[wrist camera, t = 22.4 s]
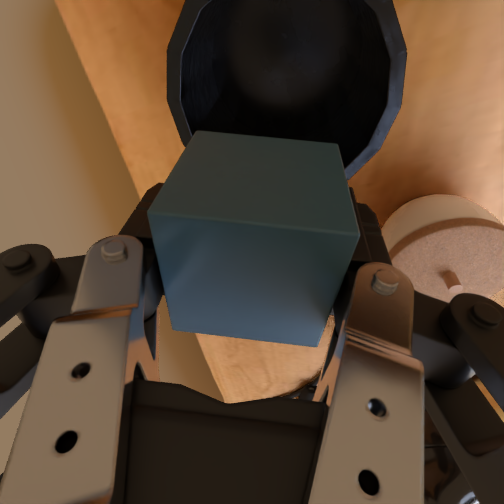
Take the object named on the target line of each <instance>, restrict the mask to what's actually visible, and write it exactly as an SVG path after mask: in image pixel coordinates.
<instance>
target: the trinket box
mask: <svg viewBox="0 0 504 504" xmlns="http://www.w3.org/2000/svg"><path fill="white" fill-rule="evenodd" d="M381 232H382V236H383V238H384V241H385V244H386V247H387V250H388V253H389V256H390V259H391V262H392V265H393V266H394V267H396V268H397V269H399V270H401V271H402V272H403V273H405V274H406V275H407V276H408V278H409V279H410V280H411V282H412V284H413V287H414V290H416V291H418V292H420V293H422V294H425V295H428V296H431V297H433V298H436V299H439V300H442V301H445V302H448V303H449V302H450V301H451V300H452V298H453V297H454V296H456V295H458V294H461V293H473V294H478V295H481V296H484V297H486V298H489V297H491V296H493V295H494V294H496V293H497V292H499V291H500V290H501V289H503V288H504V226H503V224H502V223H501V222H500V221H499V220H498V219H497V218H496V217H495V216H494V215H493V214H492V213H490V212H489V211H488V210H487V209H485V208H484V207H482V206H481V205H479V204H478V203H476V202H474V201H472V200H469V199H467V198H464V197H460V196H456V195H448V194H434V195H428V196H424V197H419V198H416V199H413V200H411V201H409V202H407V203H405V204H404V205H402V206H401V207H400V208H398V209H397V210H396V211H395V212H394V213H393V214H392V215H391V216H390V217H389V218H388V219H387V221H386V222H385V224H384V225H383V227H382V229H381Z"/></svg>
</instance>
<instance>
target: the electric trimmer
mask: <svg viewBox="0 0 504 504" xmlns="http://www.w3.org/2000/svg"><path fill="white" fill-rule="evenodd" d="M316 389H317V386H312V385H305V386H304V388H303V390H302V391H301V394H300V395H299V399H301V400H309V401H312V400H313V398H314V395H315V392H316Z"/></svg>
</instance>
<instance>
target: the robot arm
mask: <svg viewBox="0 0 504 504" xmlns="http://www.w3.org/2000/svg"><path fill="white" fill-rule="evenodd" d="M163 184H164V183H158V184H156V185H155V186H153V187H152V188H150V189H149V190H147V192H146V193H145V195H144V196H143V198H142V199H141V202H139V204H138V205H137V207H136V210H134V211H133V213H132V214H131V216H130V218H129V219H128V221H127V222H126V223H125V225H124V226H123V228H122V229H121V231H120V232H119V234H118V235H114V236H109V237H106V238H104V239H102V240H99V241H98V242H96V243H95V244H93V245H92V246H91V247H90V248H89V250H88V251H87V254H86V255H82V256H74V257H66V258H58V259H55V258H54V256H53V255H52V253H51V251H50V250H49V249H48V248H47V247H45V246H43V245H39V244H25V245H20V246H16V247H13V248H11V249H8V250H6V251H4V252H2V253H0V327H1V326H2V325H4V324H5V323H6V322H7V321H9V320H10V319H11V318H12V317H13V316H15V315H17V316H18V318H19V319H20V320H21V321H22V323H21V324H20V325H19V326H18V327H16V328H15V329H14V330H13V331H12V332H11V333H9V334H8V335H7V336H6V337H5V338H4V339H3V340H1V341H0V419H1V418H2V417H3V416H4V415H5V414H6V413H7V412H8V411H9V410H10V408H11V407H12V406H13V405H14V404H15V403H16V402H17V401H18V400H19V399H20V398H21V397H22V396H23V395H24V394H25V393H26V392H27V391H28V389H30V392H29V395H28V398H27V401H26V405H25V407H24V411H23V414H22V417H21V420H20V423H19V427H18V429H17V433H16V436H15V439H14V442H13V446H12V449H11V452H10V455H9V458H8V461H7V464H6V468H5V471H4V473H2V474H1V475H0V504H504V423H503V421H502V420H501V418H500V417H499V416H498V414H497V413H496V411H495V410H494V409H493V407H492V406H491V404H490V403H489V402H488V400H487V399H486V397H485V396H484V395H483V393H482V392H481V391H480V389H479V388H478V386H477V385H476V384H475V382H474V381H473V379H472V378H471V377H472V376H473V375H474V374H476V375H477V376H478V378H479V379H480V380H481V382H482V383H483V384H484V386H485V387H486V388H487V390H488V391H489V393H490V394H491V395H492V397H493V398H494V399H495V401H496V402H497V403H498V405H499V406H500V408H501V409H502V410H503V412H504V308H503V307H502V306H500V305H499V304H497V303H496V302H494V301H492V300H491V299H489V298H486V297H484V296H481V295H478V294H473V293H461V294H458V295H456V296H454V297H453V298H452V300H451V301H450V302H449V303H448V302H445V301H442V300H439V299H436V298H433V297H431V296H428V295H425V294H422V293H420V292H418V291H416V290H414V287H413V284H412V282H411V280H410V279H409V278H408V276H407V275H406V274H405V273H403V272H402V271H401V270H399V269H397V268H396V267H394V266H393V265H392V262H391V259H390V256H389V253H388V250H387V247H386V244H385V241H384V238H383V236H382V232H381V229H380V227H379V223H378V220H377V217H376V214H375V213H374V212H373V211H372V210H371V209H370V208H369V207H368V206H367V205H366V204H360V203H357V202H356V198H355V195H354V191H353V188H351V187H349V191H350V195H351V199H352V203H353V207H354V211H355V215H356V219H357V223H358V227H359V231H360V238H359V240H358V243H357V246H356V248H355V251H354V253H353V256H352V258H351V261H350V264H349V266H348V269H347V271H346V274H345V277H344V279H343V282H342V284H341V287H340V290H339V292H338V295H337V297H336V300H335V302H334V305H333V308H332V310H331V313H330V315H334V319H335V325H334V328H333V330H332V333H331V336H330V340H329V344H328V348H327V352H326V355H325V359H324V363H323V367H322V370H321V374H320V375H319V376H318V377H317V378H316V379H315V380H313V381H312V382H311V383H310V384H308V385H312V386H316V385H317V384H318V385H317V389H316V392H315V395H314V398H313V400H312V401H309V400H301V399H293V398H294V397H297V396H299V395H300V394H301V391H302V390H303V388H302V389H300V390H298V391H296V392H294V393H291V394H289V395H286V396H283V397H273V398H266V399H259V400H252V401H245V402H239V403H231V404H229V403H224V402H221V401H219V400H216V399H214V398H212V397H209V396H207V395H205V394H202V393H200V392H197V391H195V390H193V389H191V388H188V387H186V386H183V385H181V384H172V383H165V382H160V378H159V307H158V305H159V303H160V300H161V297H162V295H165V293H164V288H163V284H162V279H161V275H160V270H159V266H158V261H157V257H156V252H155V248H154V243H153V239H152V234H151V229H150V225H149V220H148V216H147V211H148V209H149V208H150V206H151V204H152V203H153V201H154V199H155V198H156V196H157V194H158V193H159V191H160V189H161V188H162V186H163ZM30 387H31V388H30Z"/></svg>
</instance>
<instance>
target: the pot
mask: <svg viewBox="0 0 504 504" xmlns="http://www.w3.org/2000/svg"><path fill="white" fill-rule="evenodd" d="M406 51H407V48H406V44H405V41H404V38H403V34H402V31H401V28H400V24H399V21H398V18H397V14H396V11H395V8H394V4H393V1H392V0H185V3H184V5H183V8H182V11H181V13H180V16H179V18H178V21H177V24H176V26H175V29H174V31H173V34H172V37H171V39H170V42H169V44H168V49H167V102H168V105H169V107H170V110H171V113H172V116H173V119H174V121H175V124H176V127H177V130H178V132H179V135H180V138H181V141H182V143H183V145H184V146H185V147H187V145H188V143H189V142H190V140H191V138H192V137H193V135H194V133H195V132H196V131H208V132H219V133H229V134H239V135H250V136H260V137H271V138H281V139H292V140H302V141H313V142H323V143H334V144H338V147H339V151H340V155H341V159H342V163H343V167H344V171H345V175H346V179H347V180H349V179H350V178H351V177H352V176H353V175H354V174H355V173H356V172H357V171H358V170H359V169H360V168H361V167H362V166H363V165H364V164H365V163H366V162H368V161H369V160H370V159H371V158H372V157H373V156H374V155H375V154H376V153H377V152H378V151H379V150H380V148H381V146H382V144H383V142H384V140H385V138H386V136H387V134H388V132H389V130H390V128H391V126H392V124H393V122H394V120H395V118H396V116H397V114H398V112H399V110H400V108H401V104H402V96H403V87H404V78H405V69H406V60H407V52H406Z"/></svg>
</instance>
